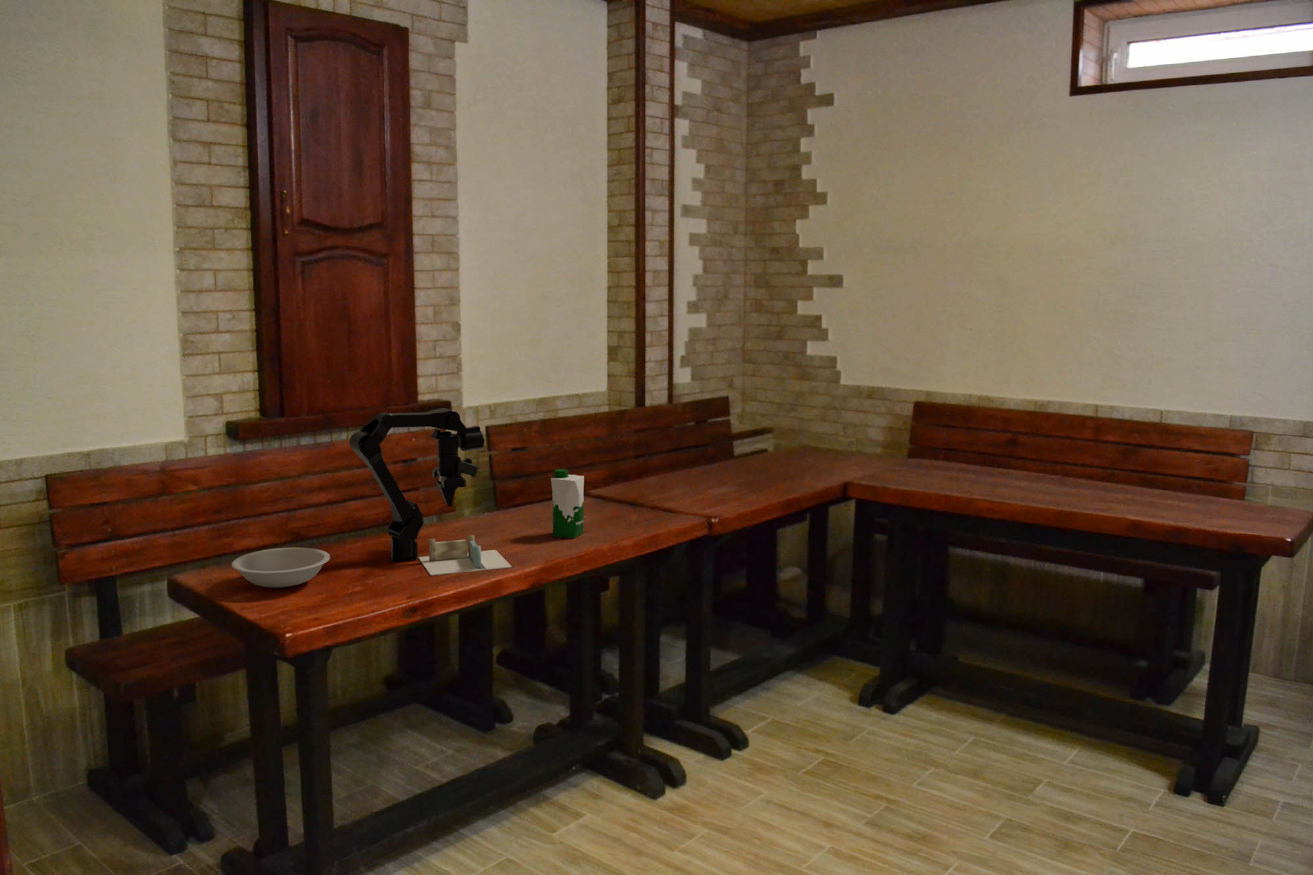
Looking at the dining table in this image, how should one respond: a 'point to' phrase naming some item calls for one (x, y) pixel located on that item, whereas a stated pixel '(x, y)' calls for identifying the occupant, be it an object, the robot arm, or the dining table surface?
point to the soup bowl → (281, 566)
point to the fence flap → (475, 554)
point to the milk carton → (567, 504)
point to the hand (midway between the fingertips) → (449, 506)
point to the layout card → (465, 564)
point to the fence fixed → (449, 549)
